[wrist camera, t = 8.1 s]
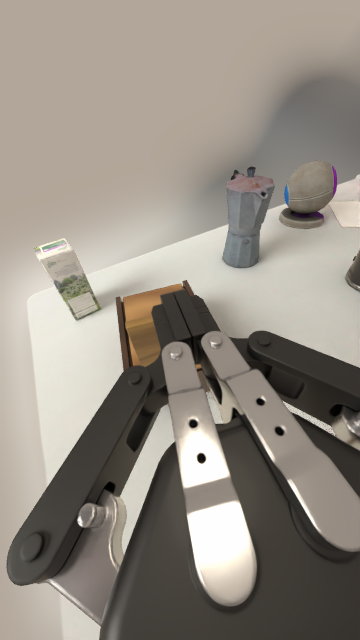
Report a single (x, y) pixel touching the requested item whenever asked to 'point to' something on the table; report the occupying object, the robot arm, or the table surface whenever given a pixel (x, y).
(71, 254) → the syrup box
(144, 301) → the lid
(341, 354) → the table surface
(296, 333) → the table surface
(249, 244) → the moka pot
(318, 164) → the webcam
